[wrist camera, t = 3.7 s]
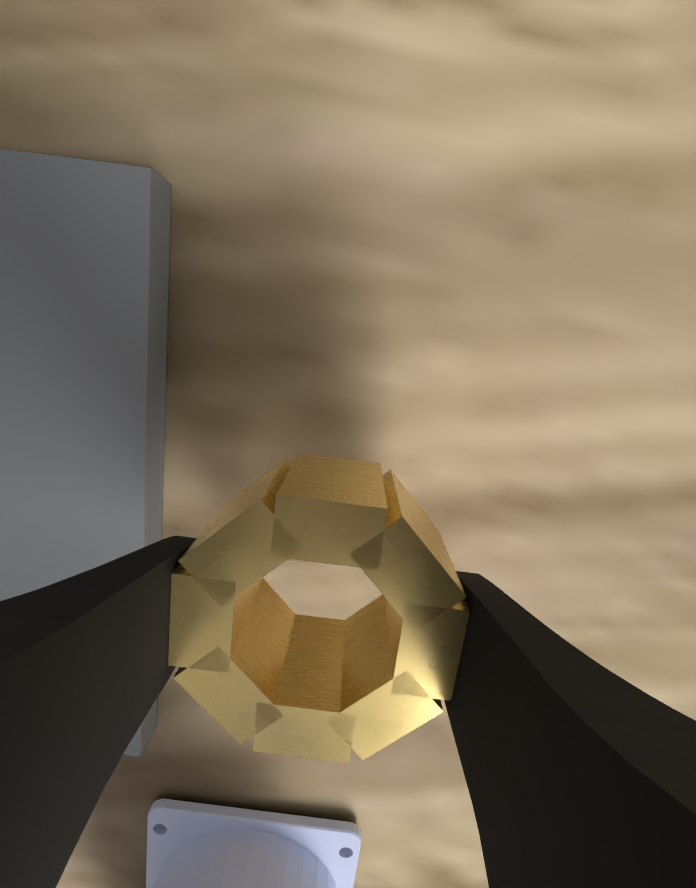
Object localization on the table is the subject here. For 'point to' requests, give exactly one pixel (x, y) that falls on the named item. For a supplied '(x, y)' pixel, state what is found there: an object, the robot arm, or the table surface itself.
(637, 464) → the table surface
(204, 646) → the brass gear
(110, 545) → the gear board
